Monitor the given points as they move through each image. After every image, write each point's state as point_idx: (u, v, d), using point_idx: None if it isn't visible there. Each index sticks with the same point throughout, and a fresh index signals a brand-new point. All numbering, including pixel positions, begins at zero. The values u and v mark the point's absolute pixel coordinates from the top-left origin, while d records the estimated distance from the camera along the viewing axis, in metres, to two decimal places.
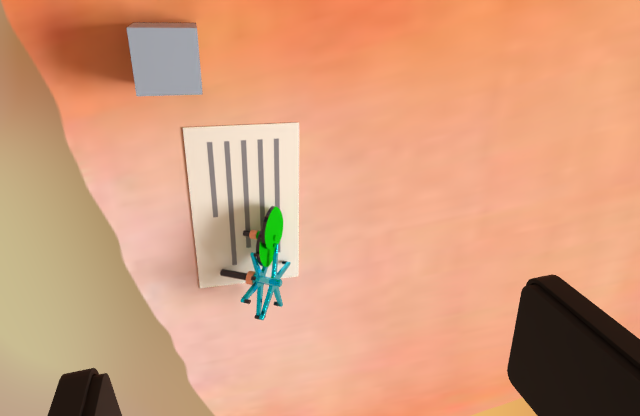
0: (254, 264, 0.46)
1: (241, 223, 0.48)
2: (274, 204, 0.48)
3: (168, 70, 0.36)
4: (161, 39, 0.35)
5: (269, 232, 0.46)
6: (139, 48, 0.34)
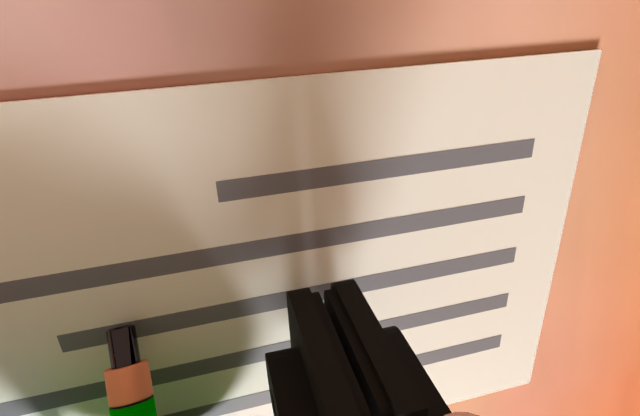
0: None
1: (188, 296, 0.11)
2: None
3: None
4: None
5: None
6: None
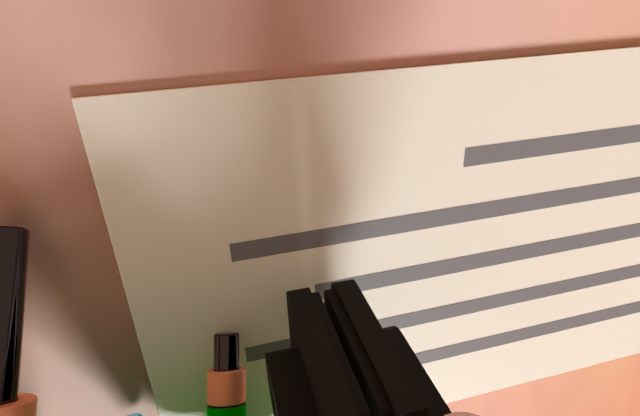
0: None
1: (419, 252, 0.12)
2: (470, 338, 0.14)
3: None
4: None
5: None
6: None
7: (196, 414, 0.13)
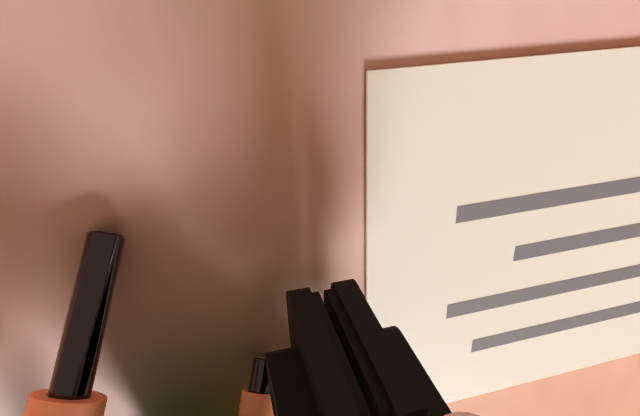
0: None
1: (602, 218, 0.14)
2: (628, 302, 0.16)
3: None
4: None
5: None
6: None
7: None
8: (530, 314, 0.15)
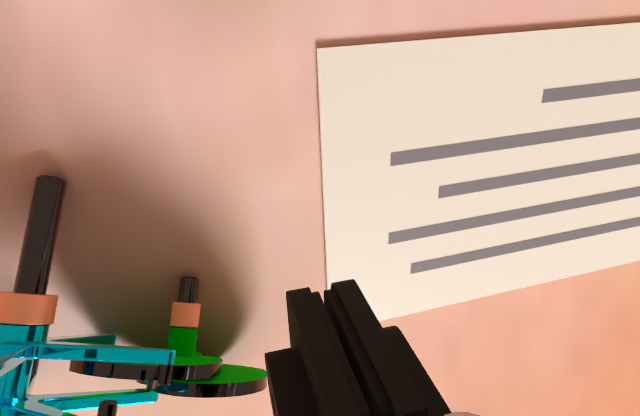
0: (119, 355, 0.12)
1: (507, 166, 0.18)
2: (535, 236, 0.20)
3: None
4: None
5: None
6: None
7: None
8: (456, 243, 0.19)
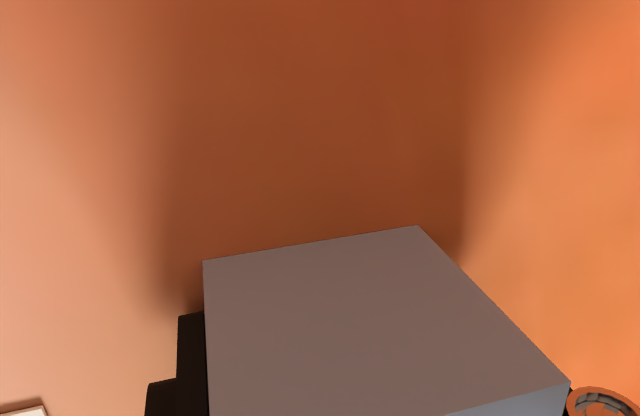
0: None
1: None
2: None
3: None
4: None
5: None
6: None
7: None
8: None
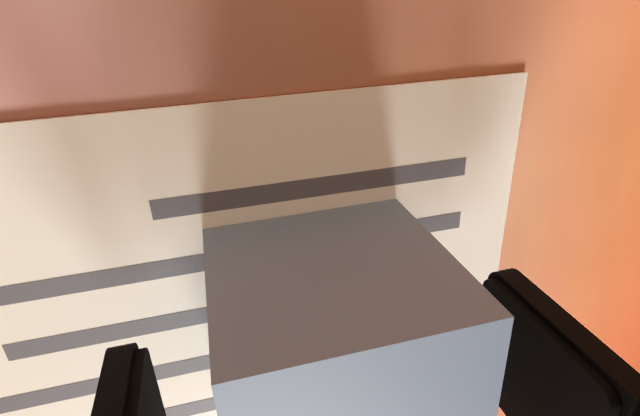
0: None
1: (129, 308, 0.12)
2: None
3: None
4: None
5: None
6: (433, 367, 0.08)
7: None
8: (76, 414, 0.12)
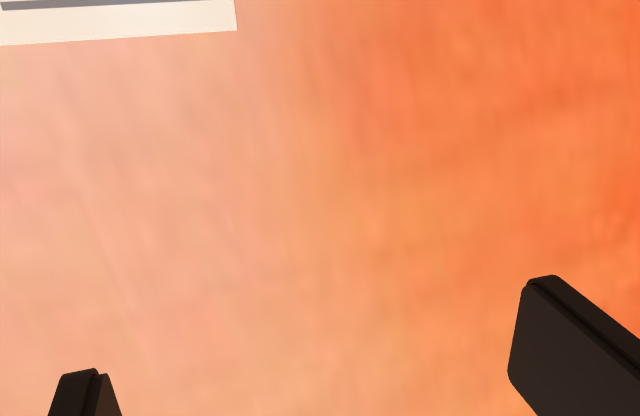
0: None
1: None
2: None
3: None
4: None
5: None
6: None
7: None
8: None
